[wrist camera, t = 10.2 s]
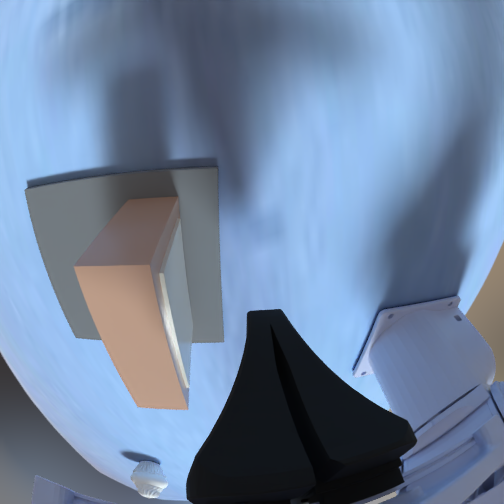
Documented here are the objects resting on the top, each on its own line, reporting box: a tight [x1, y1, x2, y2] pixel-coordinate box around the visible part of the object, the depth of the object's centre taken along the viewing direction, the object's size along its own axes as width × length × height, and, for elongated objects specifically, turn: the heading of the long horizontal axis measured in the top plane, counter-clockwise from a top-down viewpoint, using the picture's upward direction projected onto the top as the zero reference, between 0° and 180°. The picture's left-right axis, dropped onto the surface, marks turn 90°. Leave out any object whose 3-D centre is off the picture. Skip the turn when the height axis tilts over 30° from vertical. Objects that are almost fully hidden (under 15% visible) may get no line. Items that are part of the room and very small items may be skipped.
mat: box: [25, 167, 224, 343], centre depth 14 cm, size 11×11×1 cm
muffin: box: [131, 461, 168, 499], centre depth 29 cm, size 6×6×7 cm
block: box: [74, 196, 193, 410], centre depth 11 cm, size 3×8×6 cm, turn 178°
